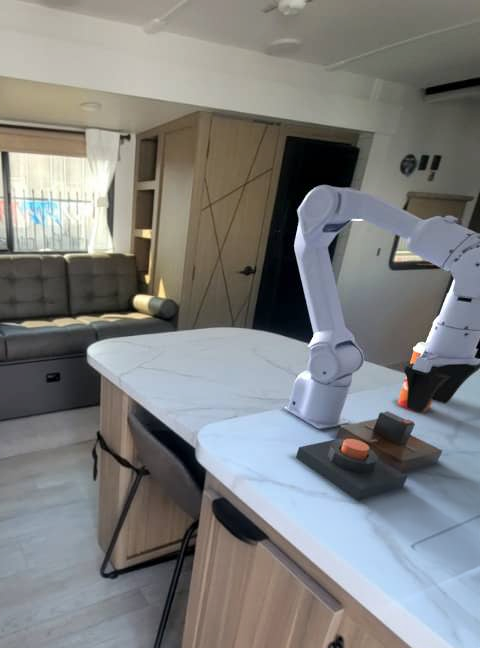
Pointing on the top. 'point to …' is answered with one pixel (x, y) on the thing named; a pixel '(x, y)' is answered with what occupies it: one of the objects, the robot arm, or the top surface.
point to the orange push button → (355, 448)
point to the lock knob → (393, 427)
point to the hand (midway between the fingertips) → (427, 405)
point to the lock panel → (392, 447)
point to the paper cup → (404, 392)
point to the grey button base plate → (351, 469)
